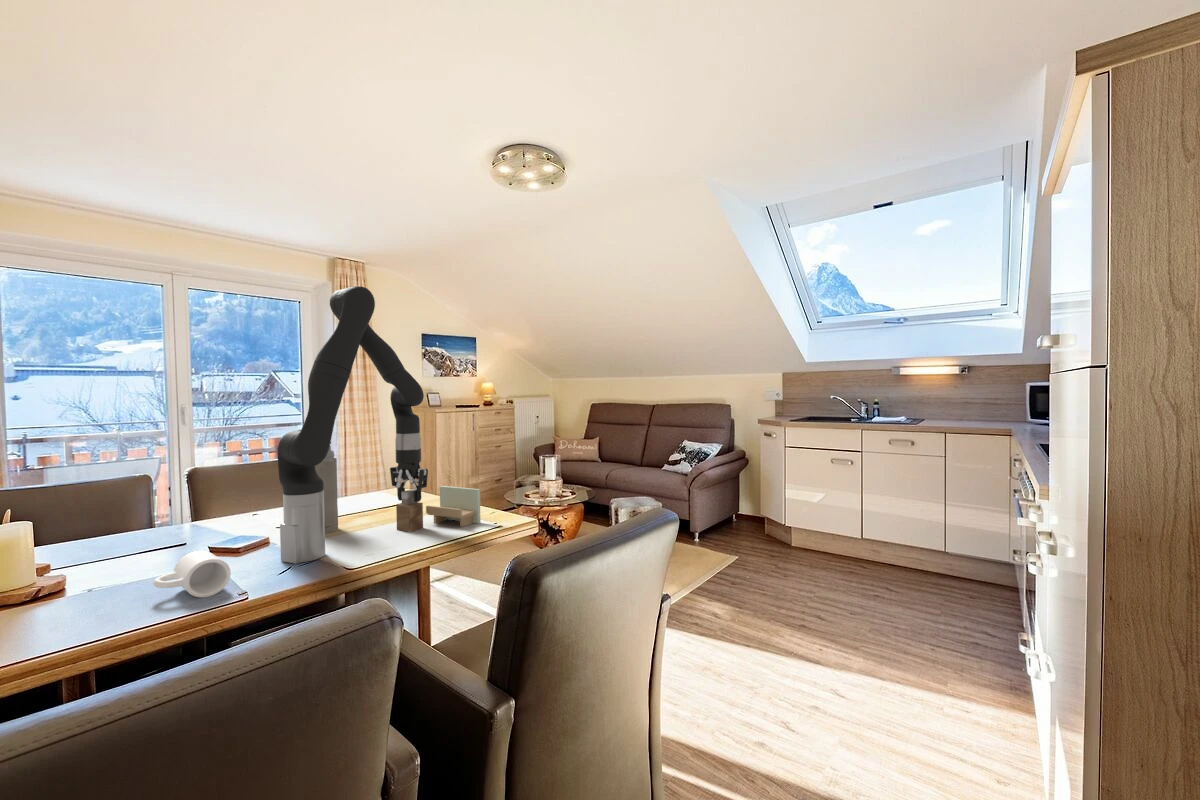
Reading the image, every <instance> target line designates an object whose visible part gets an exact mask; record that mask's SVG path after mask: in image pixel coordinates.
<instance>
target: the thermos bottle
mask: <svg viewBox="0 0 1200 800" xmlns="http://www.w3.org/2000/svg"><path fill="white" fill-rule="evenodd" d="M331 444H332V441H331V442H330V447H329V450H328V453H327V455H326V457H325V459H324V460H323V461H322V462H321V463H320V464H318V465H316V466H315V470H316V472H317V474H318V476H319V477H320V478H321V479H322V480H323V484H324V525H325V534H328V533H332V532H335V531H338V530H339V510H338V509H339V506H338V468H337V467H338V464H337V463H338V462H337V457H335V451H333V450H332V448H331V447H332V446H331Z"/></svg>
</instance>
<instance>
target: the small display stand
mask: <svg viewBox="0 0 1200 800" xmlns="http://www.w3.org/2000/svg"><path fill="white" fill-rule="evenodd" d="M480 490H481V489H480V488H472V487H471V488H470V487H459V486H450V485H449V486H448V485H447V486H446V485H440V486H439V506H438V505H437V506H435V505H425V513H426V514H427V515H428V516H433V524H439V523H442V522H445V521H453V520H455V521H454V522H459V527H460V526H461V527H466V526H468V525H471V524H481V491H480ZM447 519H448V520H447ZM444 520H445V521H444ZM441 521H442V522H441ZM438 522H439V523H438Z"/></svg>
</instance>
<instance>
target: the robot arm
mask: <svg viewBox="0 0 1200 800" xmlns="http://www.w3.org/2000/svg"><path fill="white" fill-rule="evenodd" d="M329 307H330V310H331V311H332V312H331V313H332V314H333V315H334V316H335V317H336V318H337V320H338V323H337V326H336V328H335V330H334V331H333V333H332V335H331V336H330V337H329V338H328V339H327V341H326V342H325V343H324V345H323V346H322V347H321V348H320V351H318V353H317V355H316V357H315V359H314V361H313V364H312V367H311V369H310V370H311V371H310V373H309V376H308V381H307V392H308V411H307V415H306V417H305V420H304V422H303V425H302V427H301V429H299V430H292V431H289V432H287V433H285V434H284V435H283V436H282V437H281V438H280V440H279V442H278V445H277V451H276V453H277V468H278V479H279V482H280V485H281V488H282V500H283V501H282V503H283V523H280V525H279V535H280V562H285V563H291V564H295V565H296V564H297V565H298V564H300V563H307V562H310V561H316V560H318V559H321V558H323V557H324V556H325V555H326V538H325V537H326V533H325V525H324V484H323V480H322V479H321V478H320V477H319V476H318V474H317V472H316V470H315V466H316V465H318V464H320V463H321V462H322V461H323V460H324V459H325V457H326V455H327V453H328V450H329V447H330V446H331V444H330V442H331V443H332V436H333V433H334V426H335V422H336V418H337V415H338V412H339V408H340V406H341V403H342V399H343V396H344V393H345V390H346V387H347V384H348V382H349V379H350V376H351V373H352V370H353V369H352V368H353V365H354V362H355V359H356V357H357V354H358V350H359V347H361V348H362V349H363V351H364V353H366V355H367V357H368V358H369V359H370V360H371V362H372V363H373V366H375V369H376V371H378V373H379V375H380V376H381V378H382V379H383V380H384V382H385V383H387V384H389V385H393V388H392V389H391V393H390V397H389V398H390V405H391V408H392V412H393V415H394V419H395V439H394V440H395V463H396V464H397V466H392V467H390V468H389V471H390V472H389V473H390V480H391V486H392V487H395V488H396V490H397V493H396V494H397V500H398V501H402V492H403V491H406V488H405V486H406V483H407V482H408V481H409V482H410V484H411V485H412V488H413V490H414V502H421V500H422V490H423V489H425V488H427V485H428V475H429V469H428V468H421V465H420V463H421V461H422V441H421V439H422V438H421V430H420V429H421V428H420V427H421V426H420V425H421V424H420V423H421V422H420V417H419V415H417V414H415V413H414V412H413V410H412V407H417V406H419V405H421V404H422V402H423V401H424V396H425V395H424V390H423V388H422V386H421V385H420V383H419V382H418V381H417V380H416V379H415V378H414V377H413V375H412V374H411V373H410V372H408V370H407V369H406V368H405V366H404V364H403V363H402V361H401V360H400V358H399V356H398V355H397V353H396V352H395V351H394V349H393V348H392V347H391V346H390V345H389V344H388V342H386V341H385V340H384V339H383V338H381V336H380V335H378V334H377V332H375V330H374V329H373V328H372V326H370V324H369V323H370V321H371V319H372V316H373V314H374V312H375V308H376V300H375V297H374V295H373V293H372V291H370V290H369V289H368V288H367V287H364V286H357V285H355V286H351V287H350V286H349V287H346V288H341V289H337V290H336V291H334V292H333V293H332V295H331V296H330V298H329Z"/></svg>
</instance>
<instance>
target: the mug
mask: <svg viewBox="0 0 1200 800" xmlns="http://www.w3.org/2000/svg"><path fill="white" fill-rule="evenodd" d="M231 573H232V572H231V568H230V566H229V564H228V563H227V562H226V561H224V560H223V559H221V558H219V556H216V554H214V553H211V552H210V551H207V550H195V551H192V552H189V553H187V554H185V555H184V556H182V557H181V558H180V559H179V560H178V561H177V563H176V564H175V566H174V569H173V571H172V572H169V573H165V574H163V575H160V576H159V577H156V578H155V579H154V580H153V586H154V587H155V588H158V589H169V588H177V587H181V588H183V589H184V590H185V591H186V592H187V593H188V594H189V595H191V596H192V597H195V598H209V597H212V596H215V595H217V594H218V593H220V592H221V591H222V590H224V588H226V586H227V585H228V584H229V581H230V579H231V575H232V574H231Z"/></svg>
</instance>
